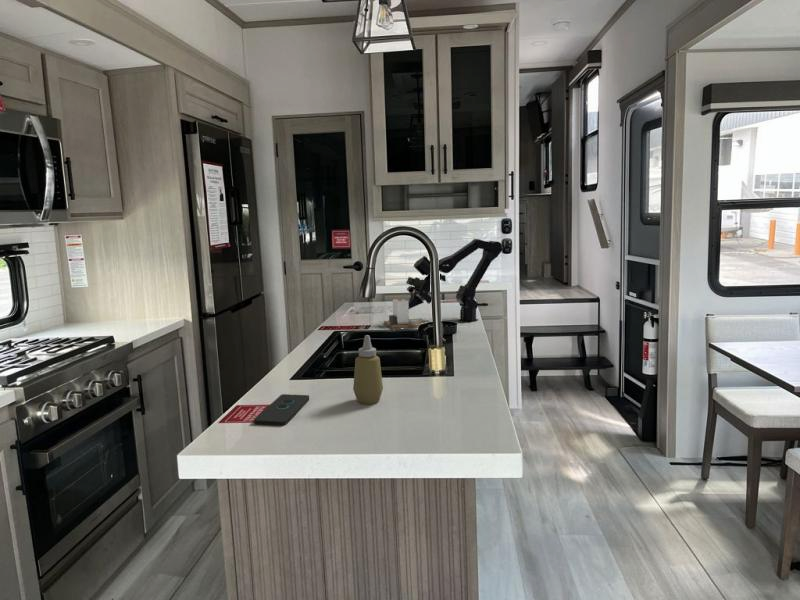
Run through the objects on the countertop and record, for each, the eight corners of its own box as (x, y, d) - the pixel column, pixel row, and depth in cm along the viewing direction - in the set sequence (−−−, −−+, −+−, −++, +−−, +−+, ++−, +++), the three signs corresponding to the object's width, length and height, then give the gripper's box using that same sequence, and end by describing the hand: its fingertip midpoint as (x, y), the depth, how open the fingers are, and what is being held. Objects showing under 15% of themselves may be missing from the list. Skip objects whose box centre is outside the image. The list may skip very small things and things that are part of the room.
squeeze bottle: (389, 399, 157) (388, 334, 154) (372, 408, 150) (371, 340, 147) (364, 394, 161) (362, 331, 158) (347, 403, 154) (345, 336, 151)
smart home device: (310, 394, 158) (285, 421, 138) (310, 400, 158) (285, 428, 139) (281, 393, 159) (252, 419, 140) (281, 399, 159) (252, 426, 140)
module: (403, 320, 259) (403, 296, 257) (408, 323, 252) (408, 298, 250) (392, 321, 257) (392, 297, 256) (397, 324, 250) (397, 299, 249)
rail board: (421, 320, 265) (421, 311, 264) (432, 326, 252) (432, 316, 251) (383, 323, 260) (383, 314, 259) (393, 329, 247) (392, 319, 246)
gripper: (410, 268, 262) (387, 294, 261) (424, 272, 245) (400, 300, 243) (427, 284, 266) (404, 310, 264) (442, 289, 248) (418, 317, 247)
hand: (406, 308), depth 254 cm, fingers closed, pressing on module
